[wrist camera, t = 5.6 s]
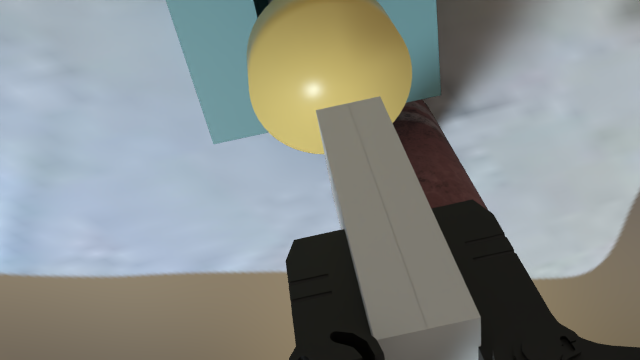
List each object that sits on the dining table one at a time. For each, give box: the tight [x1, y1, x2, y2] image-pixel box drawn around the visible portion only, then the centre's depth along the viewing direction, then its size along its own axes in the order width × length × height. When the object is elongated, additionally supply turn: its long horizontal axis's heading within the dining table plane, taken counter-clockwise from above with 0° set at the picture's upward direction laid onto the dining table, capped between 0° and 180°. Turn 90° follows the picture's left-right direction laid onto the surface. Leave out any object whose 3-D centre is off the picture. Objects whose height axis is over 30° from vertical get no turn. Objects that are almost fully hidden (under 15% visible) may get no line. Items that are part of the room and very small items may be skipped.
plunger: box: [247, 0, 412, 154], centre depth 20 cm, size 5×5×8 cm
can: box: [393, 99, 488, 210], centre depth 28 cm, size 6×6×14 cm
